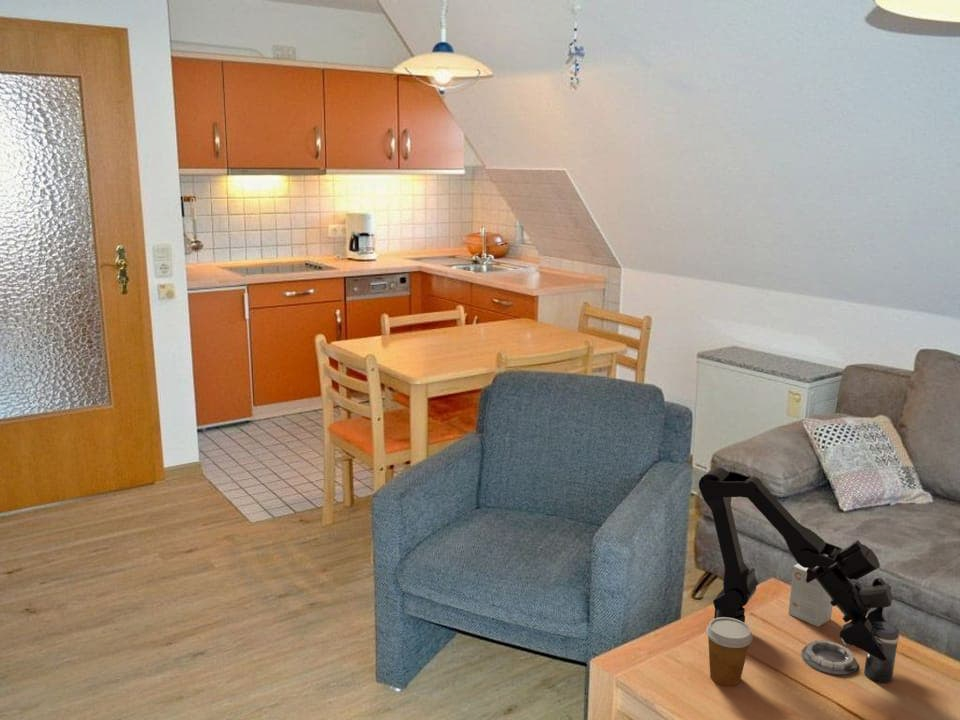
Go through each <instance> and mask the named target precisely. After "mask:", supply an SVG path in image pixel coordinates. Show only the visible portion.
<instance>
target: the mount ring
mask: <svg viewBox="0 0 960 720" xmlns="http://www.w3.org/2000/svg"><path fill="white" fill-rule="evenodd" d="M800 655H801V658H803V659H802V660H803V661H804V662H806V663H805V664H807V665H808V666H809V667H810V668H812V669H814V670H816V671H819V672H821V673H823V674H827V675H831V676H847V675H852V674H853V673H855V672H856V671H857V668H858V661H857V659H856V658H855V656H854V654H853V652H851V650H850V649H849V648H847V647H845V646H844V645H841V644H840V643H837V642H833V641H829V640H818V639H817V640H813V641H811V642H808V643H807V645H806V646H804V647H803V648H802V650H801V654H800Z"/></svg>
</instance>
